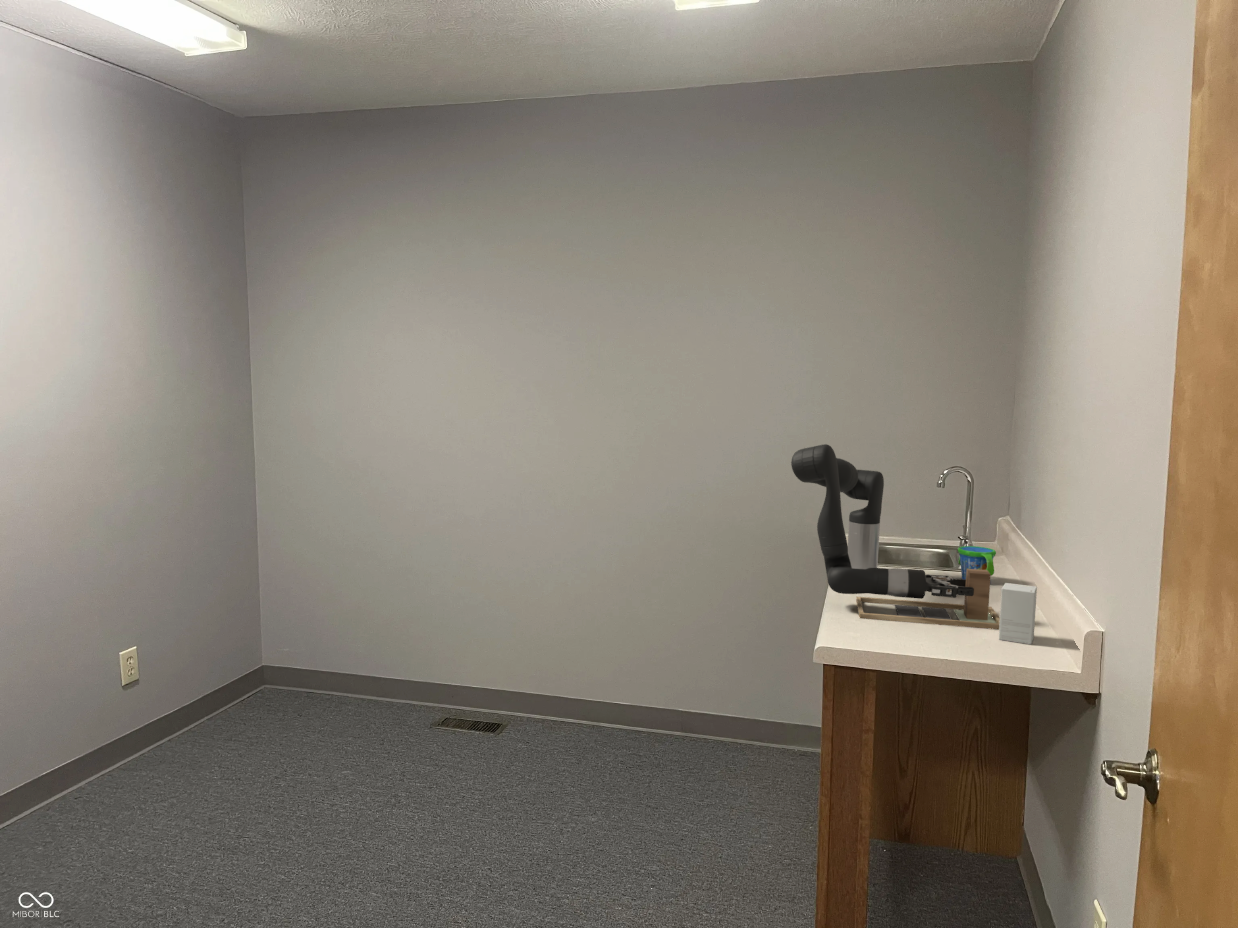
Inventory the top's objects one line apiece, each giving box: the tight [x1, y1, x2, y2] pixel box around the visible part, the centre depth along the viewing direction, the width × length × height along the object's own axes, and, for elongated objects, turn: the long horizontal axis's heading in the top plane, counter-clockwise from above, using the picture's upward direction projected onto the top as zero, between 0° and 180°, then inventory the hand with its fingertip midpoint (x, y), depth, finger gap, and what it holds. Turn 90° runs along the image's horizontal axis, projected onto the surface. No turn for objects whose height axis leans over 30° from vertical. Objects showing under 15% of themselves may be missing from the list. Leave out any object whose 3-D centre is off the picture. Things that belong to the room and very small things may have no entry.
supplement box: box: [998, 582, 1038, 645], centre depth 208 cm, size 7×7×13 cm
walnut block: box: [963, 569, 992, 620], centre depth 225 cm, size 5×5×12 cm
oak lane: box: [855, 596, 1000, 630], centre depth 228 cm, size 18×35×1 cm, turn 77°
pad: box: [953, 609, 996, 623], centre depth 226 cm, size 12×8×1 cm
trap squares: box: [894, 605, 953, 620], centre depth 229 cm, size 12×13×1 cm
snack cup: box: [957, 545, 997, 579], centre depth 267 cm, size 16×10×10 cm
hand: (970, 587), depth 226 cm, fingers open, 8 cm apart
